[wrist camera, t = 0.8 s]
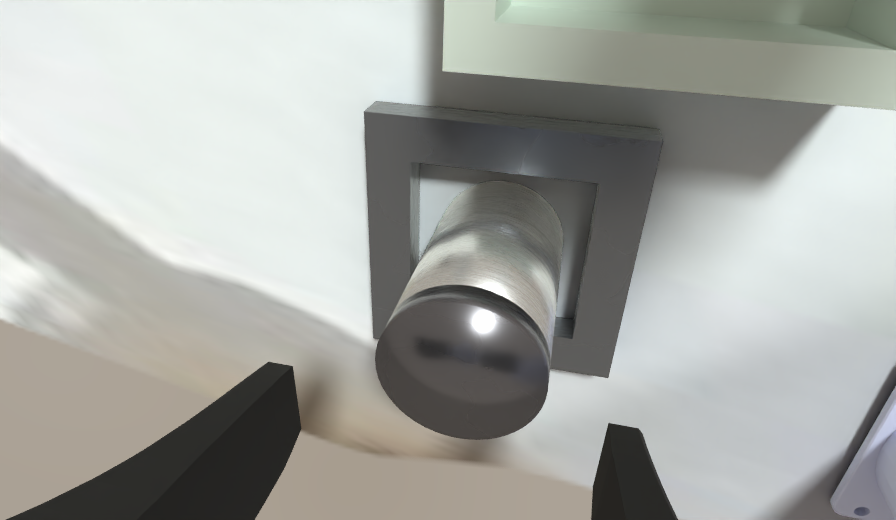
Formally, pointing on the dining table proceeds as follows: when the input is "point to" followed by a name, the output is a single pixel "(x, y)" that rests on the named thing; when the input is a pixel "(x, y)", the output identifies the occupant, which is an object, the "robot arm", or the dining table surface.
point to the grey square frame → (525, 153)
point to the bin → (685, 46)
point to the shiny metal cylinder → (478, 316)
